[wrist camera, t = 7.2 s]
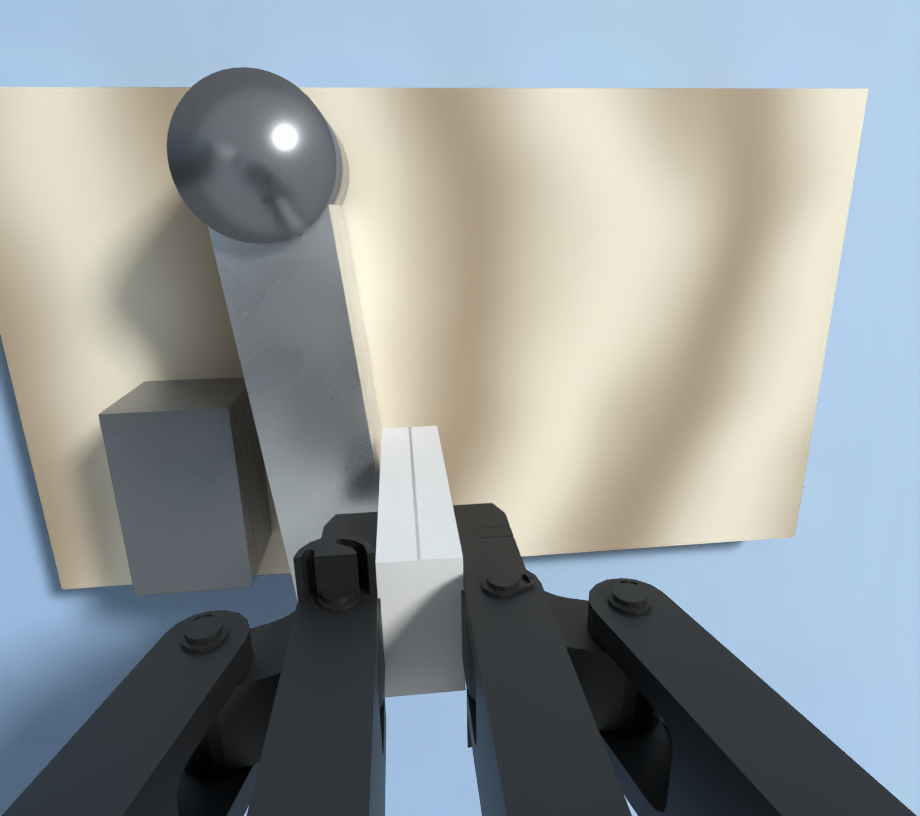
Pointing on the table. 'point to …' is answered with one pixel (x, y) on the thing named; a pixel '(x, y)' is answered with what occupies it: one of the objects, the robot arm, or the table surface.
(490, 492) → the plate
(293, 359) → the bar
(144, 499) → the block
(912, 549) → the table surface
